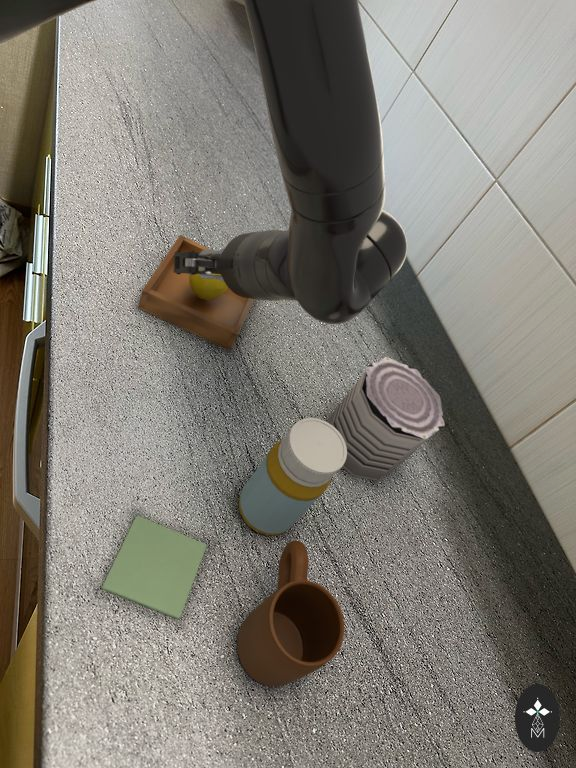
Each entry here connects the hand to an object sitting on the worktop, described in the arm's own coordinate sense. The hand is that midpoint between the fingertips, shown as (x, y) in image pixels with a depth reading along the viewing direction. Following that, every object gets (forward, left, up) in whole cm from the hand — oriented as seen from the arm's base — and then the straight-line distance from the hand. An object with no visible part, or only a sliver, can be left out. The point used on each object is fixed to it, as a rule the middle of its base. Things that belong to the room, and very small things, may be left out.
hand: (214, 266), depth 77 cm
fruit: (0, 0, -6) cm, 6 cm away
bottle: (+18, -27, -7) cm, 33 cm away
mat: (+9, -38, -6) cm, 40 cm away
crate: (0, 0, -6) cm, 6 cm away
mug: (+22, -39, -7) cm, 45 cm away
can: (+28, -12, -7) cm, 31 cm away
